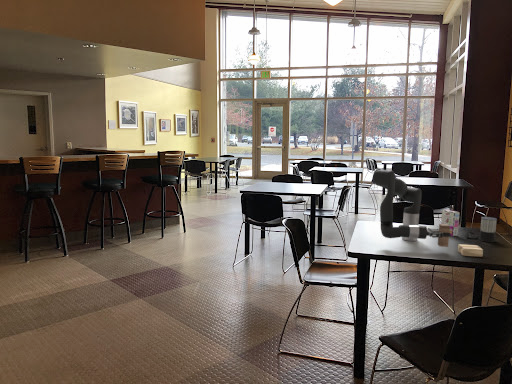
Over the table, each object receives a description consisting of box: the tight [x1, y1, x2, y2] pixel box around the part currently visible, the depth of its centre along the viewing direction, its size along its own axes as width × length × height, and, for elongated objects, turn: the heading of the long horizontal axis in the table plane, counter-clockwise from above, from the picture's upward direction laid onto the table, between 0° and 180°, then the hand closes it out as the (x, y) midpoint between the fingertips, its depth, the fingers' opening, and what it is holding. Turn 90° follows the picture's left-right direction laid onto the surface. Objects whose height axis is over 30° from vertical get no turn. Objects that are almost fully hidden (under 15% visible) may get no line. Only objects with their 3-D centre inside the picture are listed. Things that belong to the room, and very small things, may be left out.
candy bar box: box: [440, 209, 461, 237], centre depth 284 cm, size 11×5×16 cm, turn 21°
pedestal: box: [457, 243, 484, 258], centre depth 235 cm, size 10×10×4 cm
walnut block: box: [437, 223, 450, 248], centre depth 236 cm, size 4×4×12 cm
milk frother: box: [464, 216, 498, 243], centre depth 271 cm, size 14×16×15 cm
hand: (448, 233), depth 235 cm, fingers closed on walnut block, 4 cm apart
